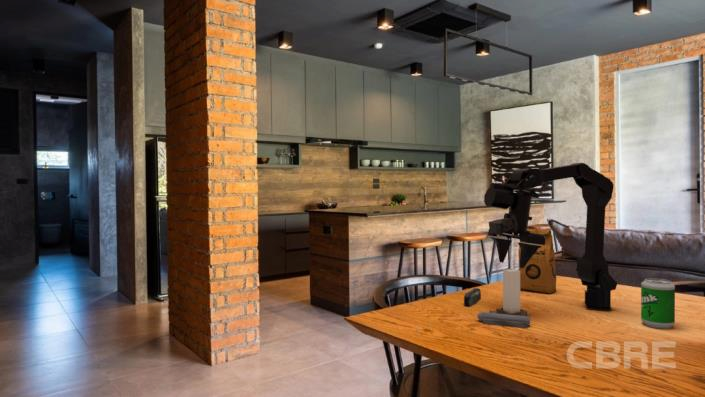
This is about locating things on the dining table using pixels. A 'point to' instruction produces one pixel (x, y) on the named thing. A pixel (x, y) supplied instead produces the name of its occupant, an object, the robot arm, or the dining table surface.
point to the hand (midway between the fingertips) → (511, 265)
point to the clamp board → (507, 323)
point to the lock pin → (511, 290)
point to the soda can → (658, 303)
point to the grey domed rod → (504, 317)
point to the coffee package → (540, 267)
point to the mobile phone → (472, 297)
